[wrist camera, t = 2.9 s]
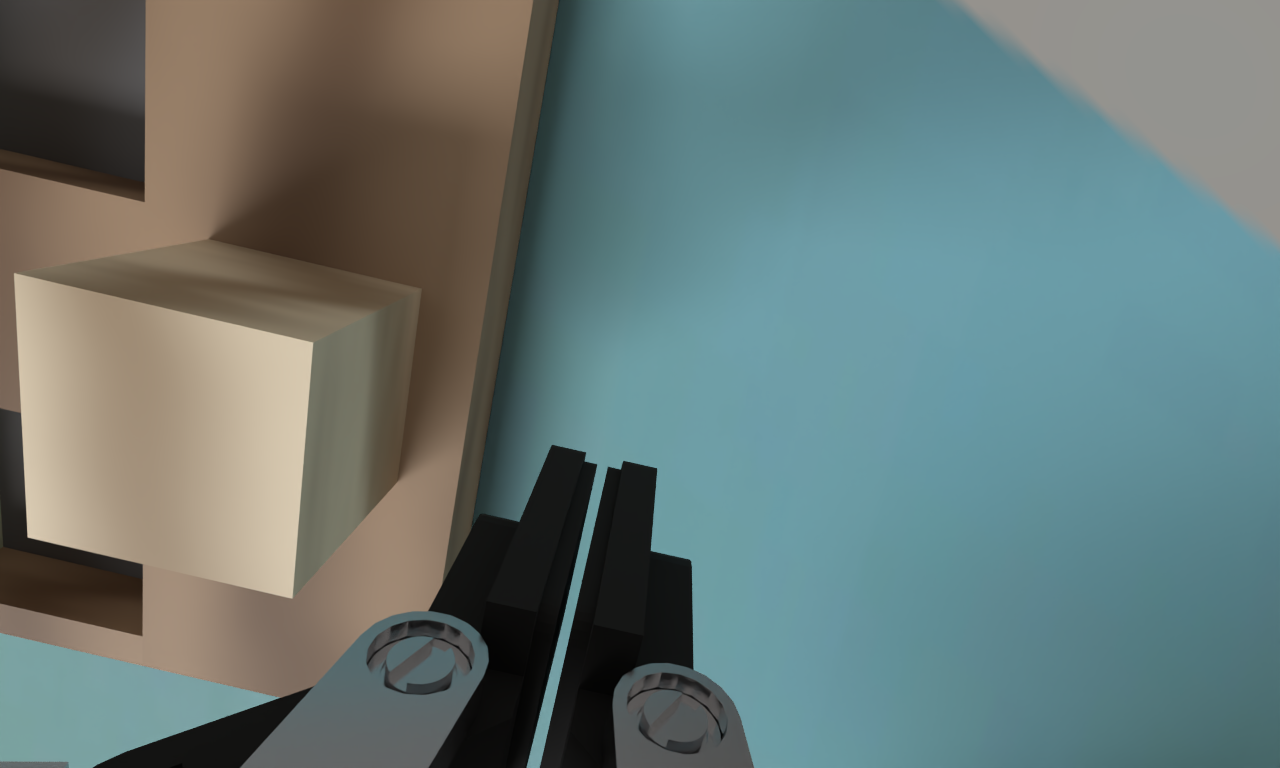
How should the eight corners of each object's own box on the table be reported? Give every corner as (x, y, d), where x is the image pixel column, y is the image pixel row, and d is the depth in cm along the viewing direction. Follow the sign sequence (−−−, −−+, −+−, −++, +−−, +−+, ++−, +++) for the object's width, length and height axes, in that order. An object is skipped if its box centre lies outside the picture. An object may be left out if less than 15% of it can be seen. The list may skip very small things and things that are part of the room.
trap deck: (564, -32, 17) (542, -63, 14) (447, 669, 23) (419, 729, 20) (-372, -250, 17) (-550, -318, 14) (-235, 511, 23) (-344, 553, 20)
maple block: (422, 288, 17) (312, 342, 12) (397, 482, 18) (292, 598, 13) (208, 238, 17) (14, 272, 12) (202, 437, 18) (28, 537, 13)
